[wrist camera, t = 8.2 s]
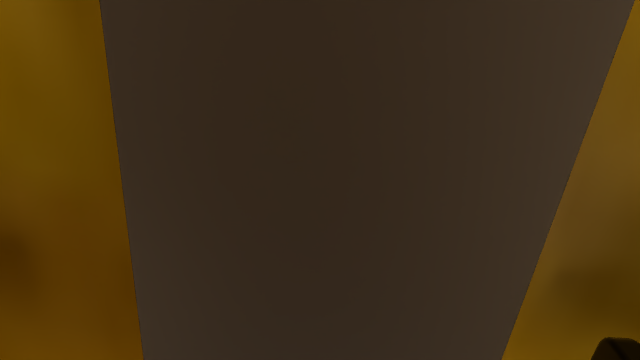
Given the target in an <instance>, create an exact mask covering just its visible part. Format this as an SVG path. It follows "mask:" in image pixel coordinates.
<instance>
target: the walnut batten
mask: <svg viewBox="0 0 640 360" xmlns="http://www.w3.org/2000/svg"><path fill="white" fill-rule="evenodd" d="M634 1H635V0H100V9H101V17H102V25H103V33H104V41H105V49H106V57H107V65H108V73H109V81H110V90H111V98H112V106H113V114H114V122H115V130H116V138H117V146H118V154H119V162H120V171H121V179H122V187H123V195H124V203H125V211H126V219H127V227H128V235H129V243H130V252H131V260H132V268H133V276H134V284H135V292H136V300H137V308H138V316H139V324H140V333H141V341H142V349H143V357H144V360H501V359H502V356H503V354H504V351H505V348H506V346H507V343H508V340H509V338H510V335H511V332H512V330H513V327H514V324H515V321H516V319H517V316H518V313H519V311H520V308H521V305H522V303H523V300H524V297H525V295H526V292H527V289H528V286H529V284H530V281H531V278H532V276H533V273H534V270H535V268H536V265H537V262H538V260H539V257H540V254H541V251H542V249H543V246H544V243H545V241H546V238H547V235H548V233H549V230H550V227H551V225H552V222H553V219H554V216H555V214H556V211H557V208H558V206H559V203H560V200H561V198H562V195H563V192H564V190H565V187H566V184H567V181H568V179H569V176H570V173H571V171H572V168H573V165H574V163H575V160H576V157H577V155H578V152H579V149H580V146H581V144H582V141H583V138H584V136H585V133H586V130H587V128H588V125H589V122H590V120H591V117H592V114H593V111H594V109H595V106H596V103H597V101H598V98H599V95H600V93H601V90H602V87H603V85H604V82H605V79H606V76H607V74H608V71H609V68H610V66H611V63H612V60H613V58H614V55H615V52H616V49H617V47H618V44H619V41H620V39H621V36H622V33H623V31H624V28H625V25H626V23H627V20H628V17H629V14H630V12H631V9H632V6H633V4H634Z"/></svg>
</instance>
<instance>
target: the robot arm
mask: <svg viewBox="0 0 640 360" xmlns="http://www.w3.org/2000/svg"><path fill="white" fill-rule="evenodd" d="M591 360H640V344H639V343H638V342H637V341H635V340H633V339H629V338H613V337H607V338H604V339H603V340H601V341H600V343H599V344H598V346H597V348H596V350H595V352H594V354H593V356H592V358H591Z"/></svg>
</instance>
